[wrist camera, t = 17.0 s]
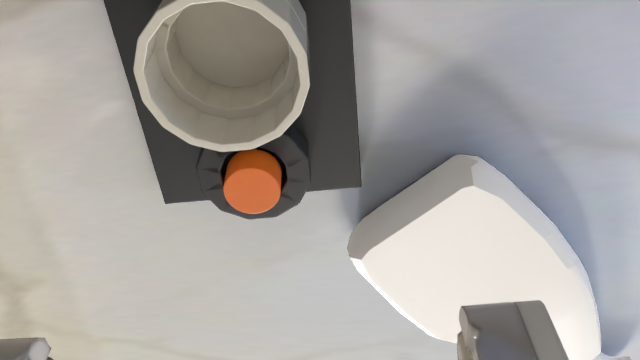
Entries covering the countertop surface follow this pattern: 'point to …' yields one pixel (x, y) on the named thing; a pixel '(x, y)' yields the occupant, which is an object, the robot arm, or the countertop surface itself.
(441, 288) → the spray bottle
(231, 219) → the countertop surface
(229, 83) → the small bowl
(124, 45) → the scale
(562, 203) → the countertop surface
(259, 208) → the button
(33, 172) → the countertop surface
